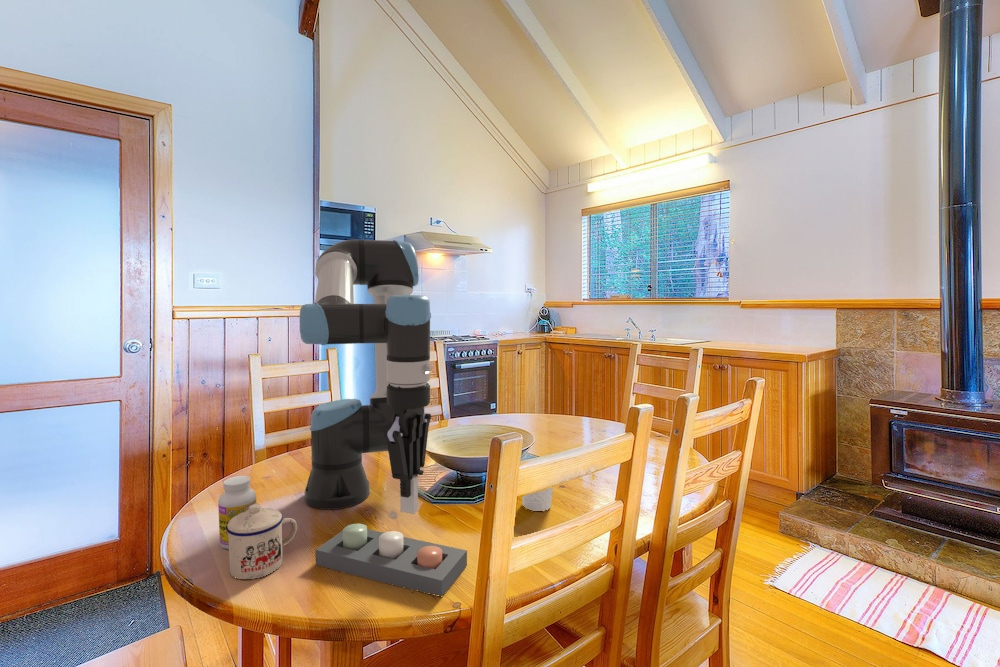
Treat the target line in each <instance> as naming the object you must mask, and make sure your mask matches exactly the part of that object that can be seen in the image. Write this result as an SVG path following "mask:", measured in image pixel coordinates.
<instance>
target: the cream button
mask: <svg viewBox="0 0 1000 667" xmlns="http://www.w3.org/2000/svg"><path fill="white" fill-rule="evenodd" d="M403 537H404V534H403V533H402V532H400V531H398V530H397V531H395V530H391V531H385V532H384V533H383V534H381V535H380V536H379V556H381V557H386V558H390V559H394V560H396V559H397V558H398V557H399V556H400V555H401V554H402V553H403V552H404V551H403Z"/></svg>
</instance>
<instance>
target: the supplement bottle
mask: <svg viewBox="0 0 1000 667" xmlns="http://www.w3.org/2000/svg"><path fill="white" fill-rule="evenodd" d="M222 483H223V485H222V487H223V490H224V492H223V493H221V495H220V496H219V498H218V501H217V502H218V504H217V505H218V526H219V527H218V528H219V529H218V531H219V545H220V547H222V548H223V549H225V548H226V549H225V550H229V536H228V531H227V525H228V523H229V521H230V520H231V519H232V518H233V517H235V516H236V515H238V514H240V513H243V512H245V511H247V510H249V507H250V506H251V505H253V504H257V493H256V490H254V489H252V488H250V485H251V478H250V476H247V475H237V476H232V477H229V478H227V479H225V480H224V481H223V482H222Z"/></svg>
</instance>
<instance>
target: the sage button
mask: <svg viewBox="0 0 1000 667" xmlns="http://www.w3.org/2000/svg"><path fill="white" fill-rule="evenodd" d="M367 529H368V526H367V525H366V524H363V523H352V524H348V525H346V526H345V527H344V528H343V529H342V531H343V548H347V549H352V550H356V551H358V550H360V549H361V548H362V547H364V546H365V545H366V544H367Z"/></svg>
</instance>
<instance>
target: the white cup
mask: <svg viewBox="0 0 1000 667" xmlns="http://www.w3.org/2000/svg"><path fill="white" fill-rule="evenodd" d="M553 489H554V487H553V488H548V489H546V490H543V491H540V492H536V493H532V494H529V495H525V496H521V497H522V498H521V499H522V507H523V506H524V507H526V508H528V509H530V510H533V511H543V510H547V511H548V509H549V508H550V507H551V508H552V497H553V492H554V491H553ZM524 507H523V508H524ZM551 508H550V509H551ZM550 509H549V510H550ZM533 511H532V512H533ZM543 512H544V511H543Z"/></svg>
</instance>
